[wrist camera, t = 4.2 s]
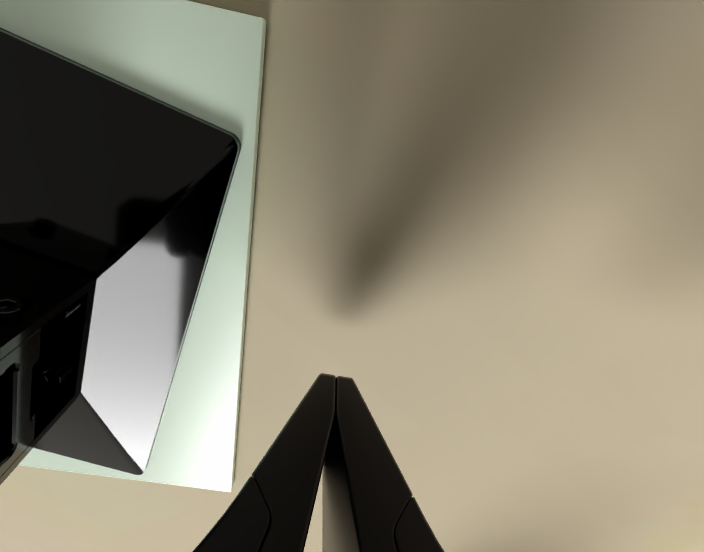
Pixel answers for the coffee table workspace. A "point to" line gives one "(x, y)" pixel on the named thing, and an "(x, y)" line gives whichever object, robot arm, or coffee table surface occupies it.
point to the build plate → (97, 254)
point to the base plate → (236, 221)
